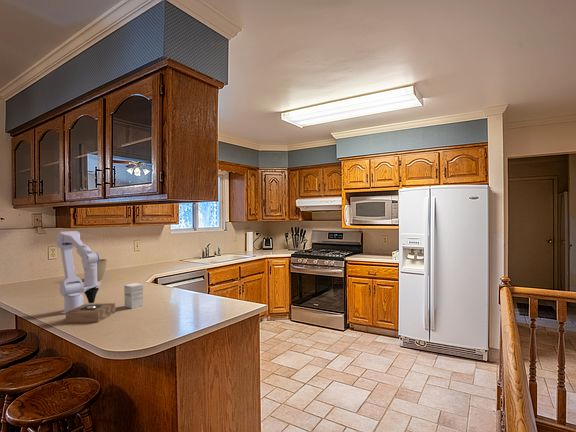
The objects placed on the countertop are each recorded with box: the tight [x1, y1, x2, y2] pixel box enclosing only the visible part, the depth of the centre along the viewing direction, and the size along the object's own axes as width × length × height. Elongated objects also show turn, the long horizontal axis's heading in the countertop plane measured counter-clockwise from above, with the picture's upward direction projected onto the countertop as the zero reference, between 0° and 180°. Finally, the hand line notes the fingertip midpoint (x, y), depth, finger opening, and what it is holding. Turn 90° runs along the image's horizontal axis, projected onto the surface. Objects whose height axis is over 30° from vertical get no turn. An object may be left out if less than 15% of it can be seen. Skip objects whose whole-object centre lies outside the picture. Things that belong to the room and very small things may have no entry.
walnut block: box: [65, 302, 116, 324], centre depth 170 cm, size 16×16×6 cm
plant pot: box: [97, 258, 108, 282], centre depth 269 cm, size 15×15×16 cm
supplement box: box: [124, 282, 144, 310], centre depth 189 cm, size 7×7×13 cm
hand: (91, 302), depth 170 cm, fingers closed
